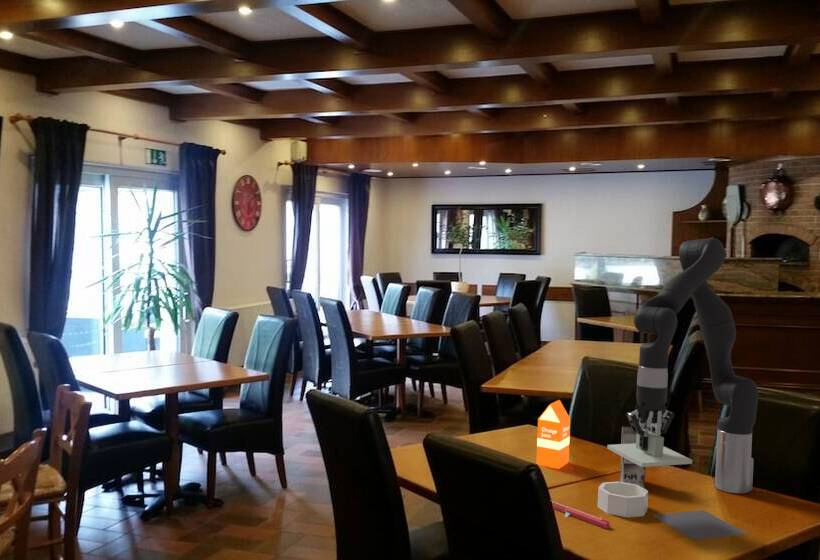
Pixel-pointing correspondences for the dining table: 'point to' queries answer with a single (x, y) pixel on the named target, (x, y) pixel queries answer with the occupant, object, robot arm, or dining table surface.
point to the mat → (699, 524)
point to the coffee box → (629, 469)
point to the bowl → (622, 499)
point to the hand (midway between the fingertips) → (648, 449)
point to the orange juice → (553, 436)
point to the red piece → (581, 515)
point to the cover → (649, 452)
